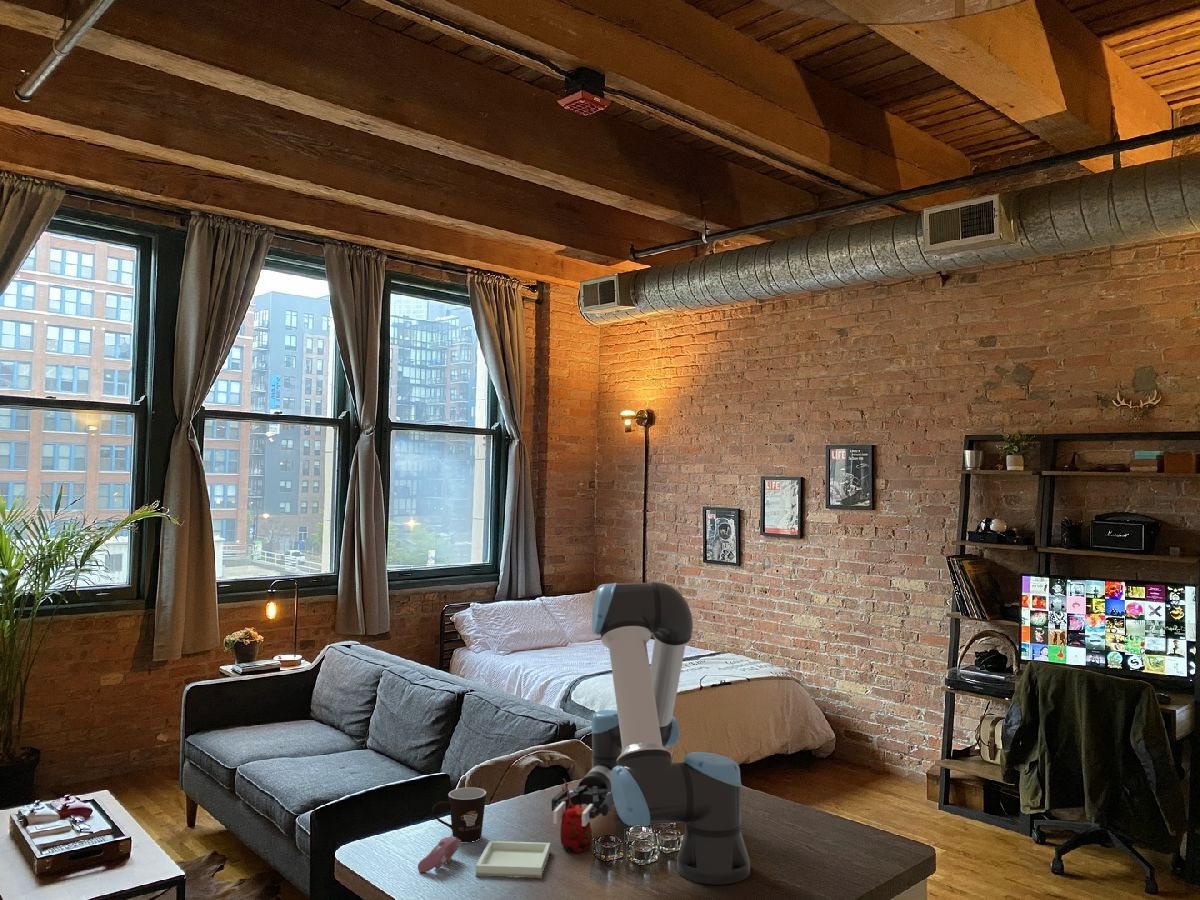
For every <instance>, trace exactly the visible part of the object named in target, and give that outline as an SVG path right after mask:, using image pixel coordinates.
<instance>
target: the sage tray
mask: <svg viewBox="0 0 1200 900" xmlns="http://www.w3.org/2000/svg"><path fill="white" fill-rule="evenodd" d="M551 845H552V844H551V842H539V841H538V842H536V841H535V842H533V841H531V842H530V841H505V840H504V841H502V840H501V841H499V840H497V841H496V840H489V841H488V842H487V844H486V846H485V848H484V850H483V852H482V853H481V856H480V857H479V859H478V860H477V863H476V864H475V877H489V876H509V877H508V878H515V877H514V876H520V877H521V876H523V877H541V876H542V877H543V875H542V873H543V874H544V872H545V869H544V868H546V867H545V865H546V866H547V864H548V861H549V858H548V857H550V856H549V854H550V855H551V853H550V852H551V851H552V849H551V848H552V847H551ZM547 860H548V861H547ZM546 863H547V864H546ZM543 871H544V872H543ZM510 876H512V877H510ZM542 877H541V878H542Z"/></svg>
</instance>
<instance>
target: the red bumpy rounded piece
mask: <svg viewBox="0 0 1200 900" xmlns="http://www.w3.org/2000/svg"><path fill="white" fill-rule="evenodd" d="M562 780H563V781H564V784H561V791H563V792H564V791H565V789H566V788H567V792H568V799H569V804H570V805H569V806H568V808H567V810H566V812H565V813H564V815H563V817H562V819H561V823H560V828H559V829H560V832H559V833H560V834H559V835H560V845H561V846H562V847H563V848H564V849H565V850H566V851H567V850H568V852H573V853H574V854H575V853H578V854H579V853H581V852H583V851H584V852H585V851H586V850H588V849H589V847H591V845H592V842H591V841H592V840H593V834H592V833H593V830H592V827H591V820H590V821H589V822H588V824H587V825H586V826H582V813H583V811H584V810H585V809H586V808H583V807H582V805H581V806H580V805H576V806H574V805H573V804H572V803H571V800H570V796H571V795H570V794H569V791H568V789H569V785H570V784H571V783H572V781H570V782H568V783H567V781H566V779H565V778H563V779H562ZM562 786H563V787H562Z"/></svg>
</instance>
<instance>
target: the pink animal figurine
mask: <svg viewBox="0 0 1200 900" xmlns="http://www.w3.org/2000/svg"><path fill="white" fill-rule="evenodd" d="M461 844H462V843H461V840H459V839H458V838H457V837H453V834H451V835H450V836H446V837H444V838H441V839H440V840H439V841H438V843H437V845H436V846H435V847H433V849H432V850H431V851H430V852H429V854H428V855H426V856H425V857H424V858H422V859H421V860H420V861H419V862H418V865H417V871H418V872H420V873H427V872H430V871H431V870H433V869H434V868H435V870H436V869H437V870H438V869H439V868H440V867H441V868H442V867H443V865H444V864H445V865H446V863H447V862H448V863H449V862H450V861H451V860H452V857H453V856H454V855H455V853H457V851H458V850H459V848H460V846H461ZM448 863H447V864H448ZM441 868H440V869H441ZM440 869H439V870H440Z"/></svg>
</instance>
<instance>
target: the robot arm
mask: <svg viewBox="0 0 1200 900" xmlns="http://www.w3.org/2000/svg"><path fill="white" fill-rule="evenodd" d="M591 611H592V612H591V629H592V634H594V635H596V636H600V638H601V639H600V640H601V644H602V645H603V646H604V647H606V648H607V649H609V657H610V664H611V665H610V666H611V672H612V679H613V680H612V682H613V687H614V697H615V702H616V703H615V704H616V710H613V709H611V710H610V709H602V710H597V711H596V712H595V713H593V715H592V720H591V721H592V723H591V745H592V746H591V750H592V751H591V752H592V753H591V769H590V770H589V771H588V772H587V773H586V774H585V775H584V777H582V778H581V780H580V782H579V783H578V785H577V787H574V788H573V790H570V789H569V788H568V791H569V794H570V795H571V796H570V800H571V803H572V804H573V805H574V806H576V805H580V806H581V807H582V805H586V807H585V808H584V809H585V810H584V811H583V813H582V826H586V825H587V824H588V822H589V821H590V822H591V820H593V819H596V817H599V816H600V814H602V815H601V816H604V817H607V816H608V815H609V813H610V811H611V809H612V808H613V806H614V807H615V810H616V813H617V815H618V817H619V818H620V820H621V821H622V823H624V824H625V825H627V826H630V827H636V826H639V827H640V826H642V827H648V826H653V825H664V824H665V825H666V824H677V823H678V824H679V823H681V824H682V823H684V824H685V825H684V827H685V829H684V834H683V836H682V841H681V844H680V847H679V850H678V853H677V856H676V869H677V870H676V871H677V873H679V875H681V877H683V878H685V879H687V880H690V881H692V882H695V883H697V884H698V883H699V884H704V885H706V884H707V885H715V886H716V885H719V886H721V885H732V884H736V883H739V882H742V881H745V880H746V879H747V878H748V877H749V876H750V874H751V859H750V856H749V853H748V850H747V847H746V844H745V841H744V838H743V834H742V807H741V806H742V802H741V801H742V785H743V784H742V781H741V780H742V779H741V769H740V766H739V764H738V763H737V762H736V761H735V760H733V759H732V758H729V757H727V756H724V755H721V754H719V753H717V754H716V753H712V752H705V751H704V752H703V751H692V752H688V753H686V754H685V755H684V758H683V762H673V758H672V753H671V751H669V749H667V747H673V746H676V745H677V743H678V742H679V740H680V727H679V725H680V724H679V722H678V720H677V718H676V717H675V716H673V715H674V709H675V705H676V701H677V700H676V698H677V693H678V688H679V683H680V677H681V673H682V672H681V671H682V665H683V660H684V655H685V650H686V645H687V644H689V642H690V641H691V639H692V634H693V630H694V629H693V628H694V623H693V621H694V620H693V614H692V611H691V609H690V606H689V603H688V602H687V600H686V599H685V597H684V596H683V595H682V593H680V592H679V590H677V589H676V588H675V587H673V586H671V585H669V584H668V583H665V582H654V581H653V582H629V583H626V582H625V583H624V582H623V583H622V582H620V583H619V582H618V583H617V582H614V583H604V584H601V585H598V587H597V588H596V591H595V594H594V598H593V601H592V610H591ZM652 636H653V638H654V642H653V649H652V653H651V654H652V655H651V661H649V660H650V659H649V658H650V657H649V652H648V645H647V643H649V641H650V640H651V638H652ZM569 805H570V804H569V799H568V792H567V788H566V789H565V791H564V792H563V791H562V790H561V791H560V792H558V793H557V794H556V795H555V796H554V797H553V798H551V811H552V812H553V821H552V823H553V824H555V825H557V824H558V823H559V822H560V821H562V817H563V815H564V813H565V812H566V810H567V808H568V806H569Z"/></svg>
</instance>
